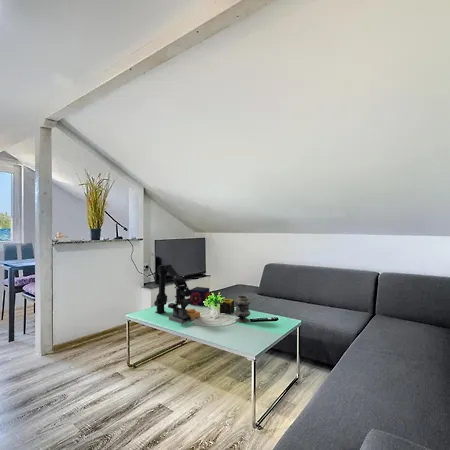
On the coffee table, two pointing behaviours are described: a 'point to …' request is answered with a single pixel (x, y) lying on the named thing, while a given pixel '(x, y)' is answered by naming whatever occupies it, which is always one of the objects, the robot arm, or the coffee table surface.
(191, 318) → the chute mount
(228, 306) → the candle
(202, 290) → the decorative cube
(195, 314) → the brown low lump
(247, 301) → the stone urn vase
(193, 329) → the coffee table surface
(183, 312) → the chute
